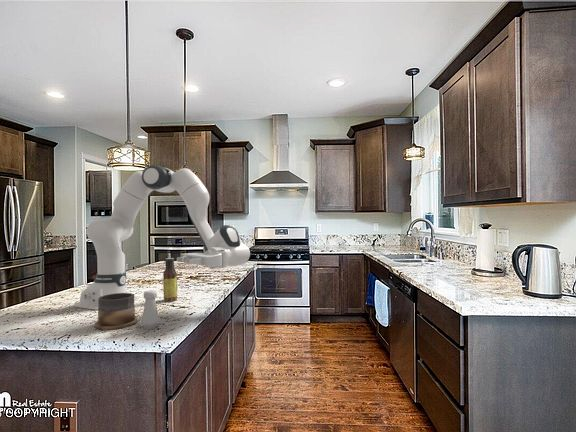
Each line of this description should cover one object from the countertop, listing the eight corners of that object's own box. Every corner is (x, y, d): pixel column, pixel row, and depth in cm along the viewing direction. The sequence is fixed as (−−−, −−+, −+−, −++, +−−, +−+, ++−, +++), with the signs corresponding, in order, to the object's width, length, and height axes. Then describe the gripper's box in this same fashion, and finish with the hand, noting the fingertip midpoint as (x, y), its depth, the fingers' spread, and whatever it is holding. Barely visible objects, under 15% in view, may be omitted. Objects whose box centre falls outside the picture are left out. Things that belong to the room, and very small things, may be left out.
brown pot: (85, 328, 115) (85, 300, 116) (113, 317, 129) (113, 291, 129) (120, 331, 113) (120, 301, 113) (145, 319, 126) (145, 293, 126)
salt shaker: (144, 325, 119) (144, 289, 119) (161, 325, 119) (161, 289, 119) (138, 331, 113) (138, 292, 113) (156, 330, 113) (156, 292, 113)
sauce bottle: (179, 300, 156) (179, 258, 156) (167, 302, 152) (167, 259, 152) (173, 298, 161) (173, 257, 161) (160, 300, 156) (160, 258, 156)
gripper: (202, 248, 142) (171, 251, 132) (228, 251, 127) (196, 254, 117) (202, 263, 142) (171, 266, 132) (229, 267, 127) (196, 272, 117)
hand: (183, 261), depth 125 cm, fingers open, 8 cm apart
